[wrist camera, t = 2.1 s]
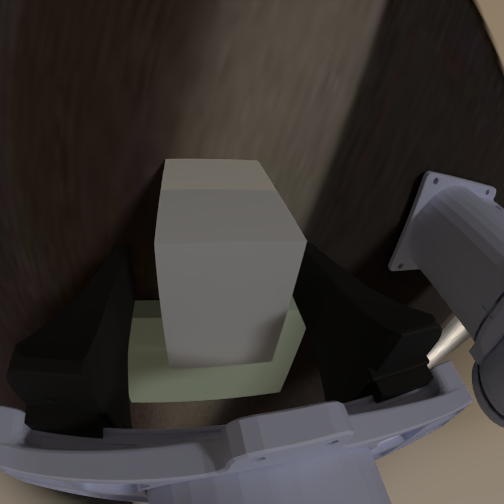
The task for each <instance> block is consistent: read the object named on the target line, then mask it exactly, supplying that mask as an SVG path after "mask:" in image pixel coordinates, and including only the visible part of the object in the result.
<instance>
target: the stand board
mask: <svg viewBox="0 0 504 504" xmlns="http://www.w3.org/2000/svg"><path fill="white" fill-rule="evenodd" d="M305 330H306V326H305V324H304V322H303V320H302V317H301V315H300V313H299V310H298V308H297V306H296V303H295V301H294V299H293V296H292V297H291V301H290V304H289V308H288V311H287V314H286V318H285V321H284V325H283V328H282V331H281V334H280V338H279V341H278V344H277V347H276V351H275V354H274V357H273V360H272V362H263V363H254V364H244V365H233V366H221V367H207V368H189V369H170V366H169V360H168V354H167V348H166V342H165V335H164V328H163V321H162V314H161V306H160V300H138V301H135V303H134V310H133V317H132V324H131V331H130V338H129V347H128V386H129V397H130V399H131V402H181V401H200V400H214V399H226V398H236V397H246V396H254V395H262V394H269V393H276V392H280V391H281V388H282V386H283V384H284V381H285V379H286V377H287V374H288V372H289V370H290V367H291V365H292V362H293V360H294V357H295V355H296V352H297V350H298V348H299V345H300V342H301V340H302V337H303V335H304V332H305Z"/></svg>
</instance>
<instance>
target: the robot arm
mask: <svg viewBox="0 0 504 504" xmlns="http://www.w3.org/2000/svg"><path fill="white" fill-rule="evenodd" d="M434 179H435V180H434ZM433 180H434V181H433ZM495 194H496V189H495V188H494V187H492V186H489V185H485V184H481V183H478V182H474V181H470V180H466V179H462V178H458V177H454V176H450V175H445V174H441V173H436V172H432V171H428V172H426V173H425V174H424V176H423V178H422V181H421V184H420V187H419V189H418V192H417V195H416V198H415V200H414V203H413V206H412V208H411V211H410V214H409V216H408V219H407V221H406V224H405V226H404V229H403V231H402V234H401V236H400V238H399V241H398V243H397V246H396V248H395V250H394V252H393V255H392V257H391V259H390V261H389V264H388V268H389V269H390V270H391V271H402V270H414V269H420V270H421V271H422V272H423V273H424V275H425V276H426V277H427V278H428V280H429V281H430V282H431V283H432V285H433V286H434V287H435V288H436V290H437V291H438V292H439V294H440V295H441V296H442V298H443V299H444V300H445V301H446V303H447V304H448V305H449V307H450V308H451V309H452V311H453V312H454V313H455V315H456V316H457V318H458V319H459V320H460V322H461V323H462V325H463V326H464V327H465V329H466V330H467V332H468V333H469V335H470V336H471V337H472V339H473V340H474V341H475V343H474V345H473V346H472V348H471V349H470V350H469V352H470V353H471V355H472V357H473V358H474V360H475V363H474V365H473V369H472V384H473V390H474V393H475V396H476V399H477V401H478V403H479V405H480V407H481V409H482V410H483V412H484V413H485V414H486V415H487V416H488V417H489V419H491V420H492V421H493V422H494V423H496V424H497V425H499V426H501V427H504V209H503V208H502V207H501V206H499V205H498V204H497V203H496V202H494V201H493V199H494V197H495ZM135 283H136V281H135V275H134V269H133V262H132V255H131V248H130V245H116V246H115V247H114V249H113V250H112V251H111V253H110V254H109V256H108V257H107V259H106V260H105V261H104V263H103V264H102V266H101V267H100V268H99V270H98V271H97V272H96V274H95V275H94V276H93V278H92V279H91V280H90V281H89V283H88V284H87V285H86V286H85V287H84V289H83V290H82V291H81V292H80V293H79V294H78V296H77V297H76V298H75V299H74V300H73V301H72V302H71V303H70V304H69V305H68V306H67V307H66V308H65V309H64V310H62V311H61V312H60V313H59V314H58V315H57V316H56V317H55V318H54V319H52V320H51V321H50V322H49V323H47V324H46V325H45V326H44V327H42V328H41V329H39V330H38V331H37V332H35V333H34V334H32V335H31V336H29V337H28V338H26V339H25V340H23V341H21V342H20V343H18V344H16V345H15V348H14V351H13V353H12V357H11V360H10V364H9V368H8V372H7V377H6V378H7V382H8V384H9V385H10V387H11V388H12V389H13V390H14V392H15V393H16V394H17V395H18V396H19V397H20V398H21V399H22V400H23V401H24V402H25V403H26V404H27V408H26V413H25V412H24V411H22V410H20V409H16V408H12V407H7V406H2V405H0V470H1V471H3V472H5V473H7V474H9V475H11V476H13V477H15V478H17V479H19V480H21V481H23V482H27V483H30V484H34V485H39V486H42V487H46V488H51V489H55V490H60V491H64V492H69V493H74V494H79V495H85V496H91V497H97V498H104V499H112V500H121V501H131V502H145V503H149V504H391V502H390V499H389V497H388V494H387V491H386V489H385V486H384V484H383V482H382V479H381V476H380V473H379V471H378V468H377V466H376V463H375V461H374V460H376V459H379V458H381V457H383V456H385V455H387V454H390V453H392V452H394V451H396V450H398V449H400V448H402V447H404V446H406V445H408V444H410V443H412V442H414V441H416V440H418V439H420V438H422V437H423V436H425V435H427V434H429V433H431V432H432V431H435V430H436V429H438V428H440V427H442V426H443V425H445V424H446V423H447V422H449V421H450V420H451V419H452V418H454V417H455V416H456V415H458V414H459V413H460V412H461V411H462V410H464V409H465V408H466V407H467V406H468V405H470V404H471V403H472V402H473V398H472V397H471V395H470V393H469V391H468V389H467V388H466V386H465V384H464V383H463V381H462V379H461V377H460V376H459V374H458V372H457V371H456V369H455V367H454V366H453V364H452V363H451V361H446V362H444V363H441V364H439V365H436V366H434V367H433V368H431V369H430V370H429V368H428V367H427V364H428V363H429V359H428V358H427V356H426V355H427V354H428V353H429V352H430V350H431V349H432V348H433V347H434V345H435V344H436V343H437V341H438V340H439V338H440V336H441V333H442V328H441V327H440V325H439V324H438V322H437V321H436V319H435V318H434V316H433V315H432V314H429V313H426V312H423V311H420V310H417V309H414V308H411V307H409V306H406V305H404V304H401V303H399V302H397V301H395V300H393V299H391V298H389V297H387V296H385V295H383V294H381V293H379V292H377V291H375V290H374V289H372V288H371V287H369V286H367V285H366V284H364V283H362V282H361V281H359V280H358V279H357V278H355V277H354V276H352V275H351V274H350V273H348V272H347V271H346V270H344V269H343V268H342V267H340V266H339V265H338V264H336V263H335V262H334V261H333V260H331V259H330V258H329V257H328V256H327V255H325V254H324V253H323V252H322V251H320V250H319V249H318V248H317V247H315V246H314V245H313V244H311V243H310V242H309V241H307V243H306V247H305V251H304V255H303V258H302V262H301V266H300V269H299V273H298V276H297V280H296V283H295V287H294V290H293V294H292V296H293V299H294V301H295V303H296V306H297V308H298V310H299V313H300V315H301V317H302V320H303V322H304V324H305V326H306V329H307V331H308V334H309V336H310V339H311V342H312V345H313V349H314V352H315V356H316V359H317V363H318V367H319V371H320V375H321V380H322V385H323V389H324V394H325V400H326V402H321V403H316V404H311V405H307V406H302V407H297V408H291V409H286V410H280V411H274V412H268V413H261V414H255V415H250V416H246V417H241V418H238V419H236V420H234V421H231V422H229V423H228V424H227V425H219V426H208V427H194V428H174V429H132V424H131V415H130V403H129V386H128V347H129V338H130V331H131V324H132V317H133V310H134V303H135Z"/></svg>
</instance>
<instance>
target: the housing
mask: <svg viewBox="0 0 504 504" xmlns="http://www.w3.org/2000/svg"><path fill="white" fill-rule="evenodd" d="M306 243H307V240H306V238H305V237H304V235H303V233H302V232H301V230H300V228H299V227H298V225H297V223H296V222H295V220H294V218H293V217H292V215H291V213H290V212H289V210H288V208H287V207H286V205H285V203H284V202H283V200H282V198H281V197H280V195H279V194H278V192H277V190H276V189H275V187H274V185H273V184H272V182H271V181H270V179H269V177H268V176H267V174H266V173H265V171H264V170H263V168H262V166H261V165H260V163H259V162H258V161H254V160H228V159H165V165H164V171H163V178H162V184H161V191H160V199H159V206H158V214H157V223H156V231H155V241H154V248H155V260H156V270H157V280H158V289H159V298H160V306H161V314H162V321H163V328H164V335H165V342H166V348H167V354H168V360H169V366H170V369H189V368H207V367H221V366H233V365H244V364H254V363H263V362H272V360H273V357H274V354H275V351H276V347H277V344H278V341H279V338H280V334H281V331H282V328H283V325H284V321H285V318H286V314H287V311H288V308H289V304H290V301H291V297H292V294H293V290H294V287H295V283H296V280H297V276H298V273H299V269H300V266H301V262H302V258H303V255H304V251H305V247H306Z"/></svg>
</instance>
